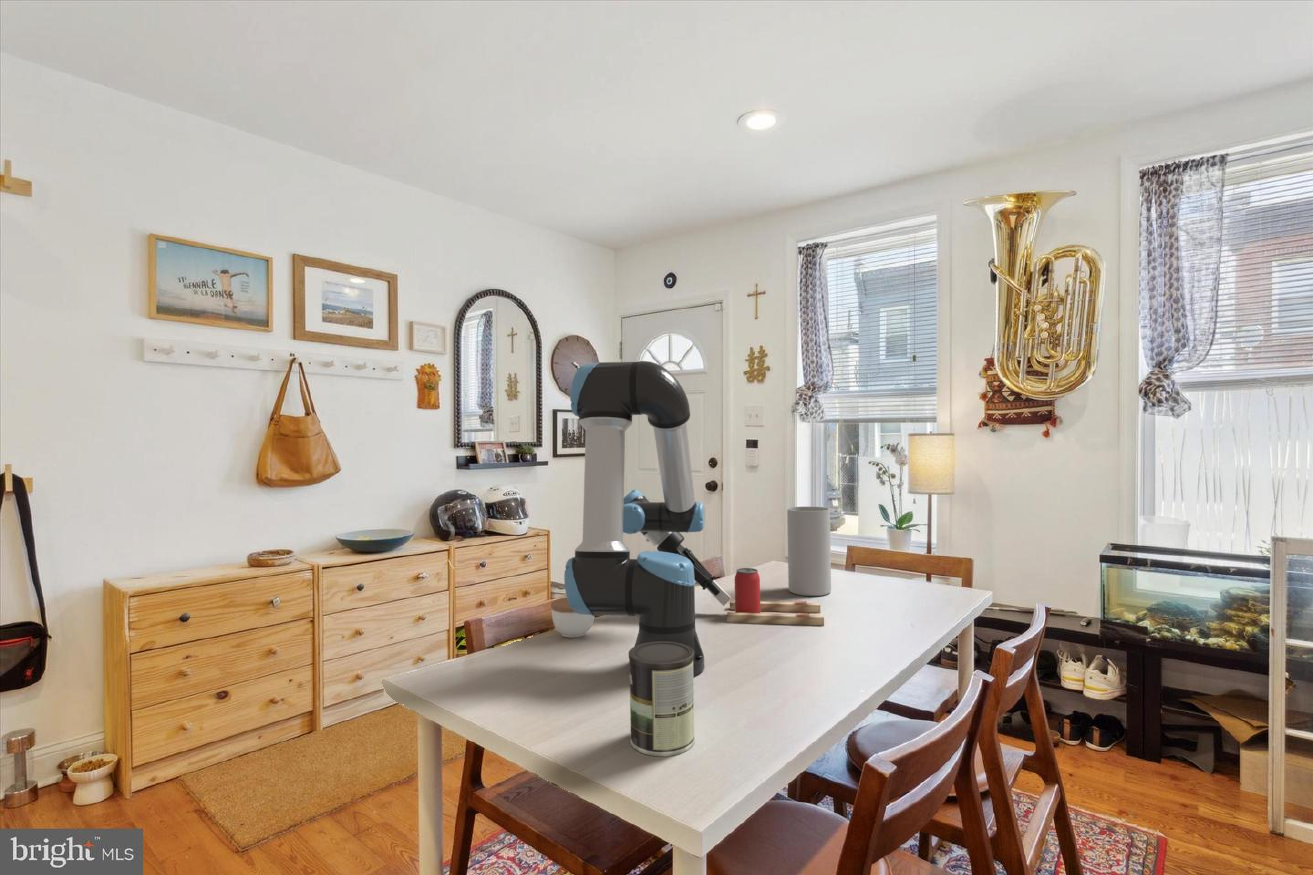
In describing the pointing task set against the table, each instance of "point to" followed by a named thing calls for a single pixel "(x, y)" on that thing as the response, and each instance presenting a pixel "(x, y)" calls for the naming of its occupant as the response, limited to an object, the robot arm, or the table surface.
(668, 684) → the coffee can
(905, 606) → the table surface
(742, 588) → the beer can
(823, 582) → the cylinder vase
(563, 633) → the lidded jar
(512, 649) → the table surface
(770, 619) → the channel
